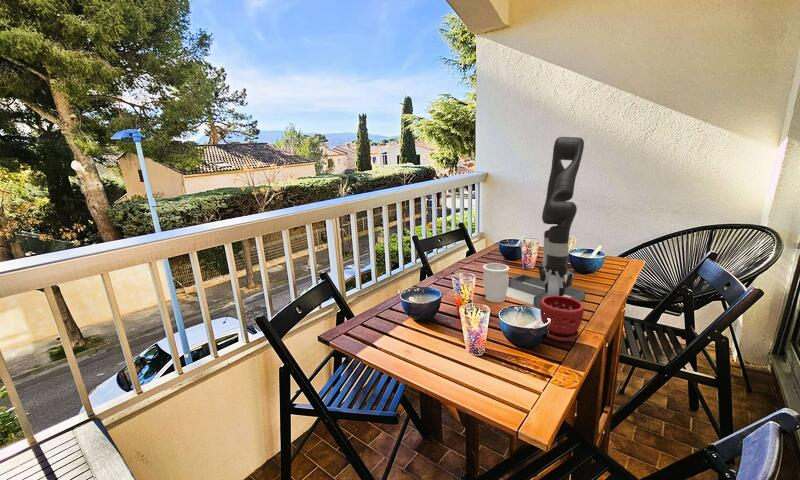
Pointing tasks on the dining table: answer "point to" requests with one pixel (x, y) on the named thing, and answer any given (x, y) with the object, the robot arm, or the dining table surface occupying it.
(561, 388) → the dining table surface
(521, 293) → the channel board
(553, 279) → the peg
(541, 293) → the channel walls
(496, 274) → the jar
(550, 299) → the plant pot
